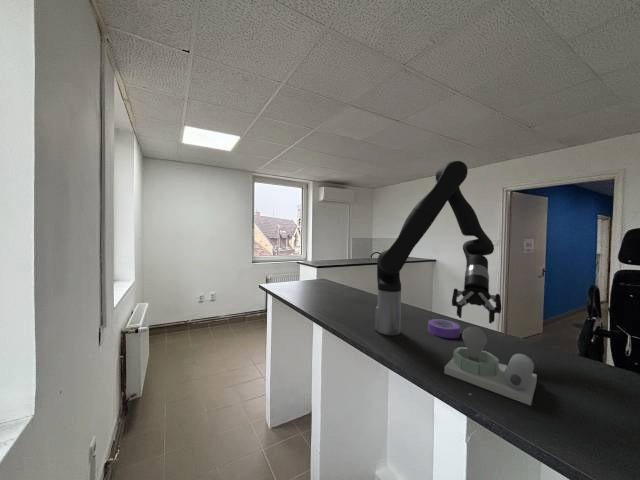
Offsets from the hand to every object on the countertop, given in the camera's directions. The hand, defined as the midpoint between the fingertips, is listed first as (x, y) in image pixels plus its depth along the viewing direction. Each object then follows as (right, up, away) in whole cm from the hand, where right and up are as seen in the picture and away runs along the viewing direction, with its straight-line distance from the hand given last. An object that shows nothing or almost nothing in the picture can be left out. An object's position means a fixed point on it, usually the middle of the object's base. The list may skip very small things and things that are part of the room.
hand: (474, 319), depth 83 cm
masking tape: (0, -12, +21) cm, 24 cm away
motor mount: (-4, -12, -12) cm, 18 cm away
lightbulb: (-6, -10, -10) cm, 16 cm away
